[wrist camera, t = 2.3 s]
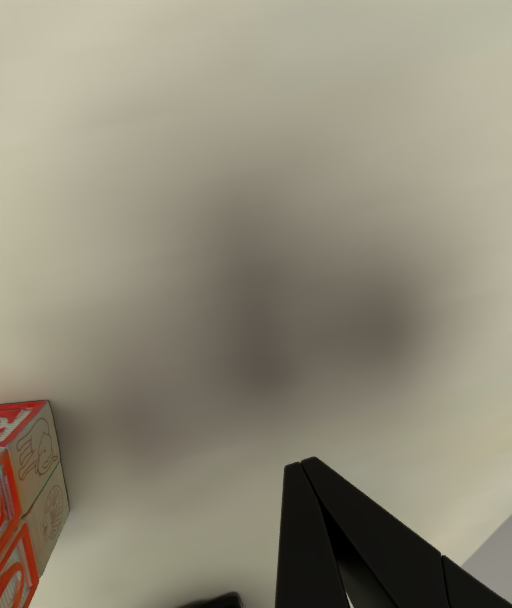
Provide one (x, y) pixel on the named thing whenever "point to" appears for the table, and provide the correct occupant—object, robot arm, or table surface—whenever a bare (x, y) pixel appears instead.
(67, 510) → the stack of blocks
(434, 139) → the table surface
